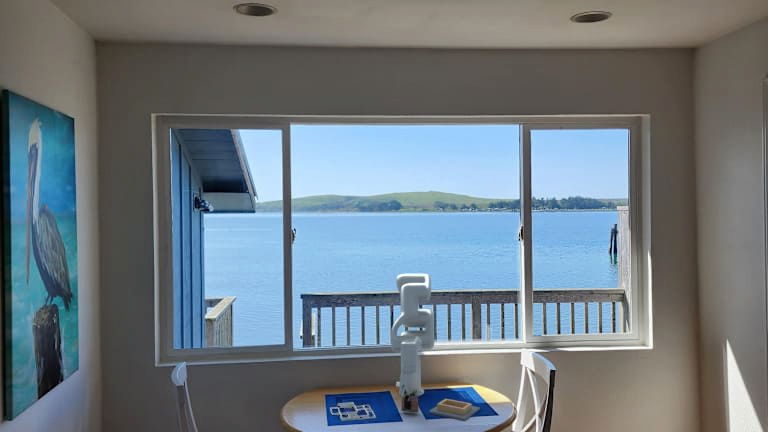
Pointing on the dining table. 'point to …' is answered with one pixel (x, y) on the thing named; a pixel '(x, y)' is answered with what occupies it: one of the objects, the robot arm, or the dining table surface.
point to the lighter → (413, 403)
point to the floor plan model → (355, 416)
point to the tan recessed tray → (454, 409)
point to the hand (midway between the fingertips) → (410, 406)
